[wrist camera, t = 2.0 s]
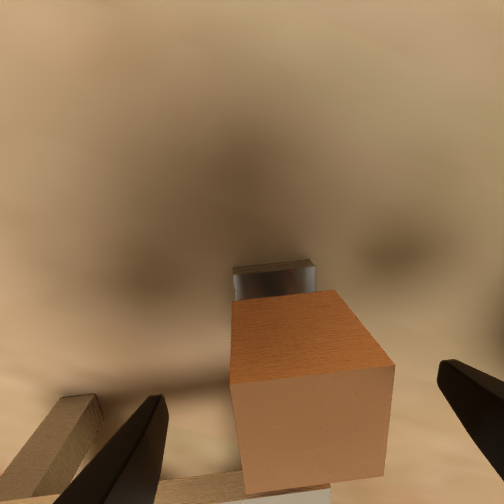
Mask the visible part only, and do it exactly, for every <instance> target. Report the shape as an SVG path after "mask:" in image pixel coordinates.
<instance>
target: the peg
mask: <svg viewBox="0 0 504 504" xmlns="http://www.w3.org/2000/svg"><path fill="white" fill-rule="evenodd" d="M233 281H234V289H235V297H236V301H232V320H231V354H230V391H231V398H232V404H233V411H234V417H235V424H236V431H237V437H238V444H239V450H240V457H241V463H242V470H243V477H244V483H245V490H246V494H252V493H259V492H267V491H274V490H282V489H289V488H297V487H305V486H312V485H320V484H327V483H335V482H342V481H350V480H358V479H365V478H373V477H380V476H383V475H384V466H385V457H386V447H387V438H388V429H389V419H390V410H391V401H392V391H393V382H394V373H395V364H394V363H393V361H392V360H391V359H390V358H389V357H388V355H387V354H386V353H385V352H384V350H383V349H382V348H381V347H380V345H379V344H378V343H377V342H376V341H375V339H374V338H373V337H372V336H371V334H370V333H369V332H368V331H367V329H366V328H365V327H364V326H363V325H362V323H361V322H360V321H359V320H358V318H357V317H356V316H355V315H354V313H353V312H352V311H351V310H350V309H349V307H348V306H347V305H346V304H345V302H344V301H343V300H342V299H341V297H340V296H339V295H338V294H337V292H336V291H335V290H329V291H320V292H316V273H315V265H314V264H313V263H312V262H311V260H300V261H291V262H282V263H272V264H263V265H254V266H244V267H235V268H233Z"/></svg>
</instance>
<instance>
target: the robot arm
mask: <svg viewBox="0 0 504 504" xmlns="http://www.w3.org/2000/svg"><path fill="white" fill-rule="evenodd" d="M437 384H438V387H439V389H440V390H441V392H442V393H443V395H444V396H445V398H446V400H447V401H448V403H449V404H450V406H451V407H452V409H453V410H454V412H455V414H456V415H457V417H458V418H459V420H460V421H461V423H462V425H463V426H464V428H465V429H466V431H467V432H468V434H469V435H470V437H471V438H472V440H473V441H474V442H475V444H476V445H477V446H478V448H479V449H480V450H481V452H482V453H483V454H484V456H485V457H486V458H487V460H488V461H489V462H490V464H491V465H492V466H493V468H494V469H495V470H496V472H497V473H498V474H499V476H500V477H501V478H502V480H503V481H504V382H503V381H501V380H499V379H497V378H495V377H492V376H490V375H488V374H486V373H484V372H482V371H480V370H477V369H475V368H473V367H471V366H469V365H467V364H464V363H462V362H460V361H458V360H455V359H450V360H443V361H441V362H440V364H439V370H438V376H437ZM168 422H169V413H168V409H167V405H166V401H165V398H164V395H163V394H156V395H150V396H149V397H148V398H147V399H146V400H145V401H144V402H143V403H142V404H141V405H140V407H139V408H138V409H137V410H136V411H135V412H134V413H133V414H132V415H131V417H130V418H129V419H128V420H127V421H126V422H125V423H124V424H123V425H122V427H121V428H120V429H119V430H118V431H117V432H116V433H115V434H114V435H113V437H112V438H111V439H110V440H109V441H108V442H107V443H106V444H105V445H104V447H103V448H102V449H101V450H100V451H99V452H98V453H97V454H96V455H95V457H94V458H93V459H92V460H91V461H90V462H89V463H88V464H87V465H86V467H85V468H84V469H83V470H82V471H81V472H80V473H79V474H78V475H77V477H76V478H75V479H74V480H73V481H72V482H71V483H70V484H69V486H68V487H67V488H66V489H65V490H64V491H63V492H62V493H61V494H60V496H59V497H58V498H57V499H56V500H55V501H54V502H53V503H52V504H154V500H155V496H156V492H157V488H158V484H159V479H160V473H161V468H162V461H163V454H164V448H165V441H166V435H167V428H168Z"/></svg>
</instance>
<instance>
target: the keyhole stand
mask: <svg viewBox="0 0 504 504" xmlns="http://www.w3.org/2000/svg"><path fill="white" fill-rule="evenodd" d="M103 420H104V418H103V415H102V412H101V409H100V407H99V404H98V401H97V399H96V396H95V394H91V395H82V396H74V397H66V398H60V399H59V401H58V402H57V403H56V404H55V406H54V407H53V408H52V410H51V411H50V412H49V414H48V415H47V416H46V418H45V419H44V420H43V421H42V423H41V424H40V425H39V427H38V428H37V429H36V431H35V432H34V433H33V435H32V436H31V437H30V439H29V440H28V441H27V442H26V444H25V445H24V446H23V448H22V449H21V450H20V452H19V453H18V454H17V456H16V457H15V458H14V459H13V461H12V462H11V463H10V465H9V466H8V467H7V469H6V470H5V471H4V473H3V474H2V475H1V476H0V504H52V503H53V502H54V501H55V500H56V499H57V498H58V497H59V496H60V494H61V493H62V492H63V491H64V490H65V489H66V488H67V487H68V486H69V484H70V483H71V481H72V479H73V477H74V475H75V473H76V471H77V469H78V468H79V466H80V464H81V462H82V460H83V458H84V456H85V454H86V452H87V450H88V449H89V447H90V445H91V443H92V441H93V439H94V437H95V435H96V433H97V431H98V430H99V428H100V426H101V424H102V422H103ZM154 504H331V486H330V483H327V484H320V485H312V486H305V487H297V488H289V489H282V490H274V491H267V492H259V493H252V494H246V490H245V483H244V477H243V470H239V471H232V472H224V473H216V474H209V475H201V476H193V477H186V478H178V479H170V480H163V481H159V484H158V488H157V492H156V496H155V500H154Z"/></svg>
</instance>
